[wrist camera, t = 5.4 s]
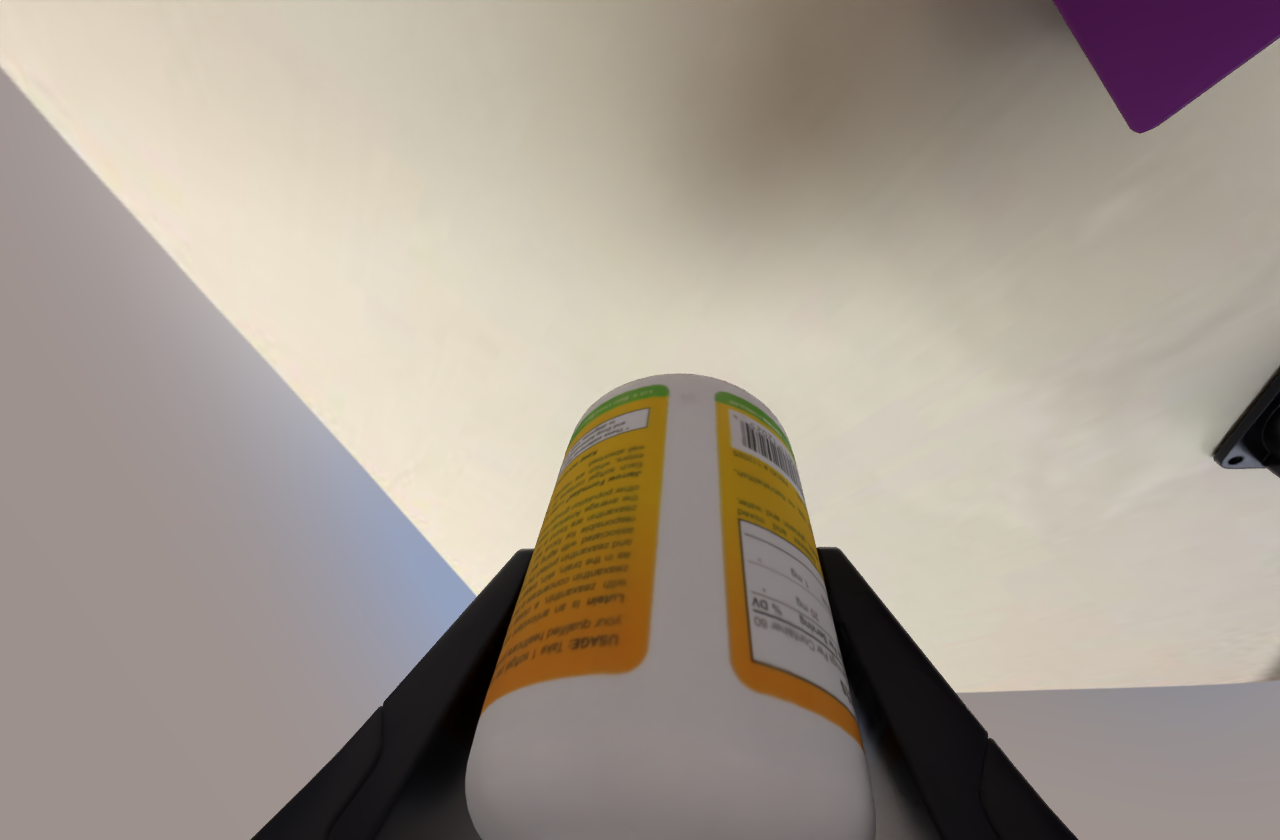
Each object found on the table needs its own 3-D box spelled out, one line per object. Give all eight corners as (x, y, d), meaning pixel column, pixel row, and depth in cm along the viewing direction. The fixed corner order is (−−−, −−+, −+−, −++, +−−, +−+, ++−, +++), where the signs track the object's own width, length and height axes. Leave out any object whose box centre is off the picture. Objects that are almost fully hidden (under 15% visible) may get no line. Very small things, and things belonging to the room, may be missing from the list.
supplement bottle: (572, 516, 14) (408, 1122, 6) (569, 352, 10) (187, 1250, 3) (762, 540, 13) (847, 1194, 6) (822, 381, 10) (1215, 1436, 2)
